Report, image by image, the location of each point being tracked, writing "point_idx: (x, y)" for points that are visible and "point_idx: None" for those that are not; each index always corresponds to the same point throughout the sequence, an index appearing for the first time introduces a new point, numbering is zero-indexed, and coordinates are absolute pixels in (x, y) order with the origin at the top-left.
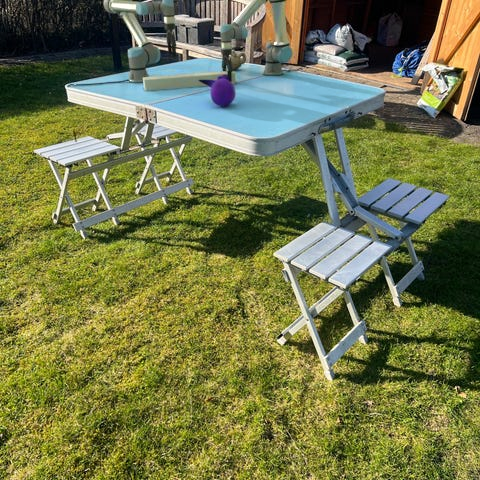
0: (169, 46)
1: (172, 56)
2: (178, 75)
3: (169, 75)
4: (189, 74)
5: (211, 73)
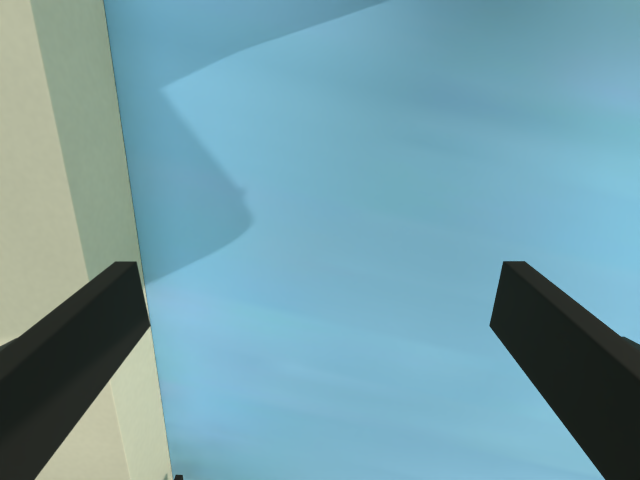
0: (607, 411)
1: (133, 263)
2: (20, 195)
3: (38, 96)
4: (57, 304)
5: (67, 454)
